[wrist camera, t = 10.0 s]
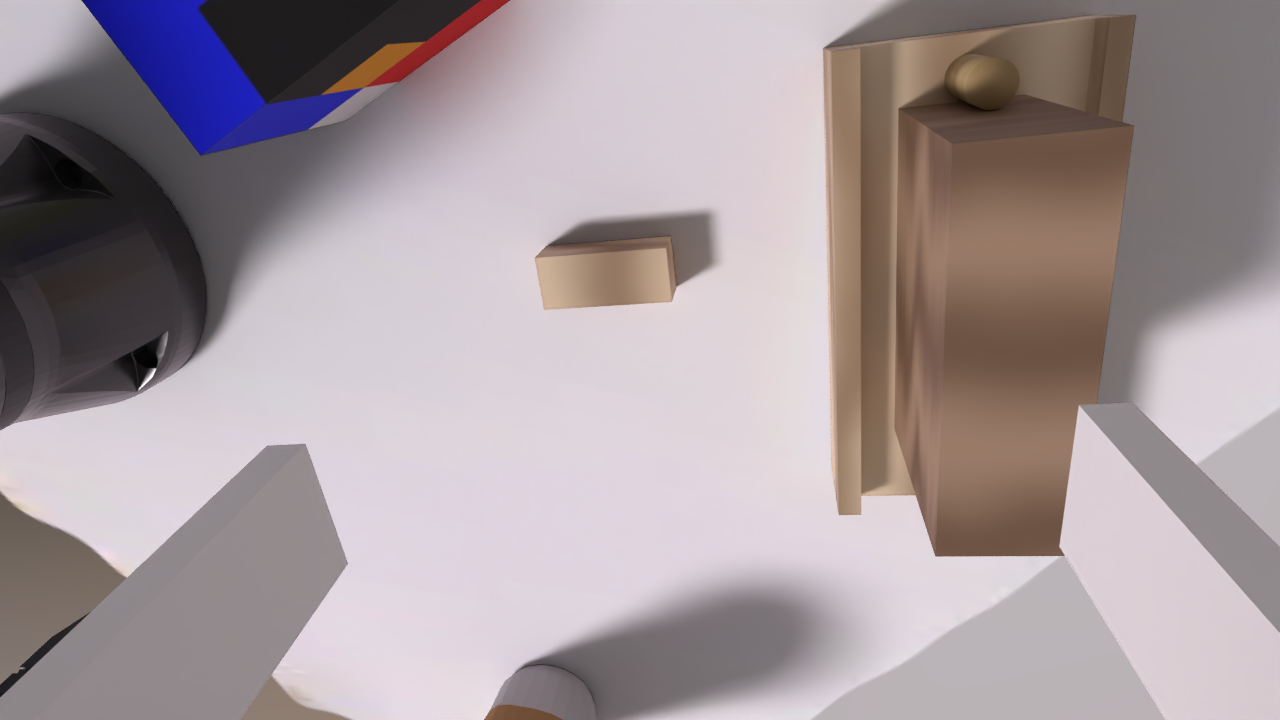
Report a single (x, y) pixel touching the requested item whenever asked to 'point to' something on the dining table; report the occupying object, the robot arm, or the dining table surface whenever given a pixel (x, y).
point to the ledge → (867, 194)
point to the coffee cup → (543, 696)
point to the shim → (607, 273)
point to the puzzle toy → (277, 57)
